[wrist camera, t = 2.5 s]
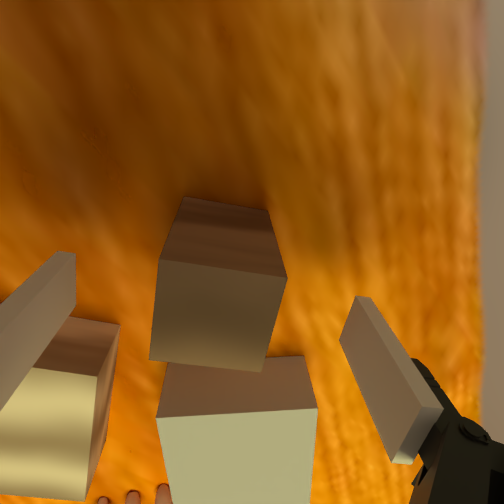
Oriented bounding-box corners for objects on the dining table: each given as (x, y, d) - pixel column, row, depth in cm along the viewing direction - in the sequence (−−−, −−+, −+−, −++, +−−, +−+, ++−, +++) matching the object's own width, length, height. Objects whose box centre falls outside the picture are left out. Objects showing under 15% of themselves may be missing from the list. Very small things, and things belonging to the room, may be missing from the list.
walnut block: (183, 196, 20) (158, 258, 13) (268, 210, 21) (287, 277, 14) (174, 270, 22) (148, 360, 15) (251, 282, 23) (261, 372, 16)
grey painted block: (168, 360, 26) (155, 418, 22) (303, 352, 26) (318, 408, 22) (185, 463, 31) (177, 527, 27) (297, 456, 32) (308, 518, 27)
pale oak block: (-37, 295, 23) (-103, 347, 18) (121, 322, 24) (97, 376, 20) (-25, 421, 28) (-74, 487, 23) (106, 437, 29) (84, 501, 25)
